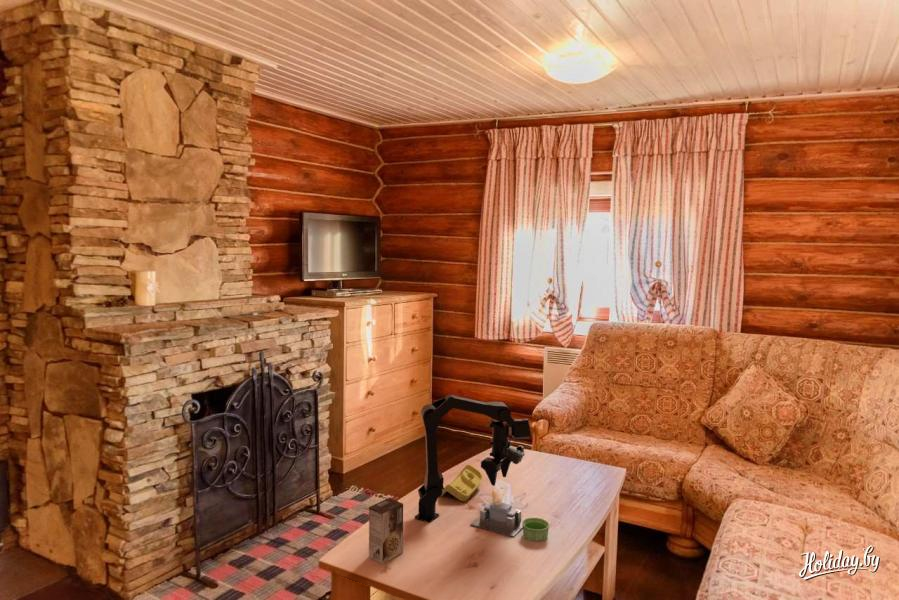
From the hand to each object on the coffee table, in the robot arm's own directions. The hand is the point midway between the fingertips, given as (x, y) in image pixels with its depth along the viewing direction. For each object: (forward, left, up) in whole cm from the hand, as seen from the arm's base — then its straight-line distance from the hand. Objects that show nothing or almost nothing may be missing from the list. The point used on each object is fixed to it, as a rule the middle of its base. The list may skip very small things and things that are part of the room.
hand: (498, 481), depth 219 cm
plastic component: (+11, +20, -12) cm, 26 cm away
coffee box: (-45, +17, -12) cm, 50 cm away
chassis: (-6, -4, -12) cm, 14 cm away
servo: (-7, -4, -12) cm, 14 cm away
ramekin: (-9, -18, -12) cm, 23 cm away
